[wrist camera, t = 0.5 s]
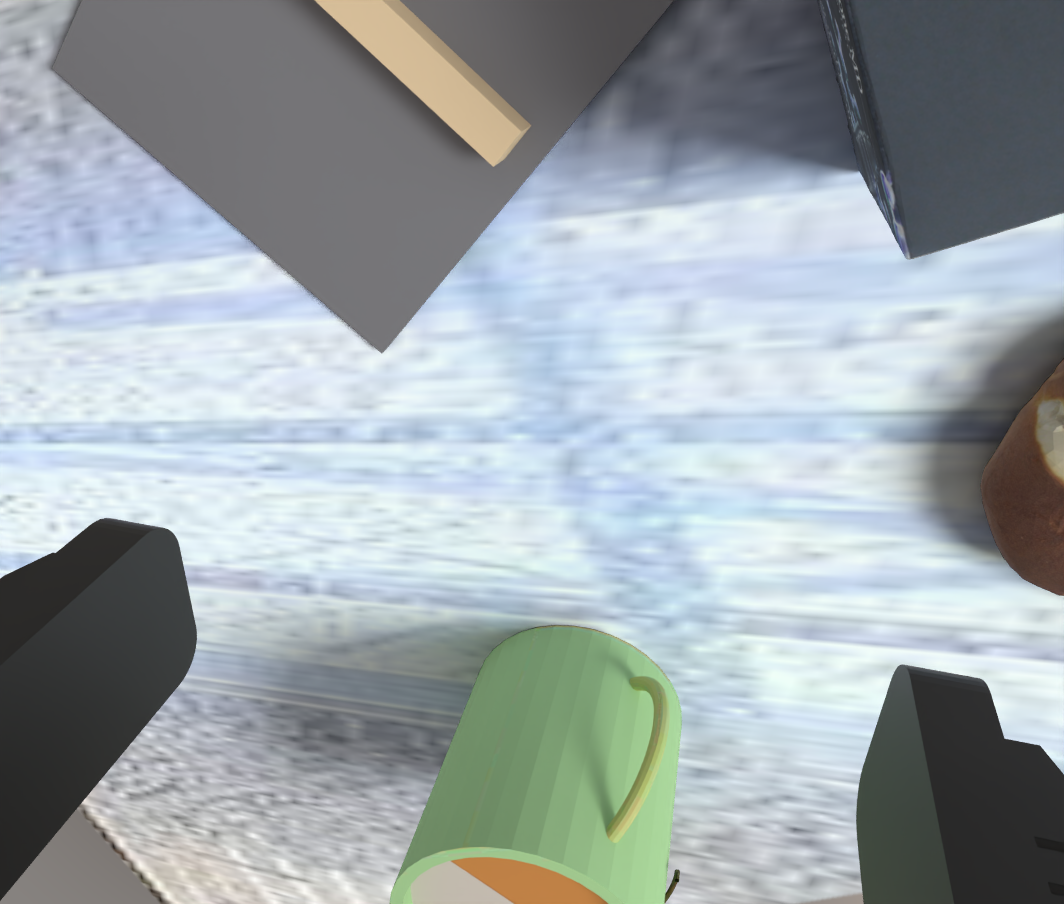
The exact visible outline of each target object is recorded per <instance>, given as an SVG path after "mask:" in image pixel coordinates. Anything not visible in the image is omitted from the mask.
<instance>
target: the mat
mask: <svg viewBox="0 0 1064 904" xmlns="http://www.w3.org/2000/svg"><path fill="white" fill-rule="evenodd" d="M673 1H674V0H82V1H81V3H80V6H79V8H78V10H77V12H76V15H75V17H74V19H73V21H72V24H71V26H70V28H69V31H68V33H67V35H66V37H65V40H64V42H63V44H62V47H61V49H60V51H59V53H58V56H57V58H56V60H55V62H54V65H53V67H52V69H53V70H54V71H55V72H56V73H58V74H59V75H60V76H61V77H62V78H63V79H65V80H66V81H67V82H68V83H69V84H70V85H72V86H73V87H74V88H75V89H76V90H77V91H78V92H80V93H81V94H82V95H83V96H84V97H85V98H87V99H88V100H89V101H90V102H91V103H92V104H94V105H95V106H96V107H97V108H98V109H99V110H100V111H102V112H103V113H104V114H105V115H106V116H107V117H109V118H110V119H111V120H112V121H113V122H114V123H116V124H117V125H118V126H119V127H120V128H121V129H122V130H124V131H125V132H126V133H127V134H128V135H129V136H131V137H132V138H133V139H134V140H135V141H136V142H138V143H139V144H140V145H141V146H142V147H143V148H144V149H146V150H147V151H148V152H149V153H150V154H151V155H153V156H154V157H155V158H156V159H157V160H158V161H160V162H161V163H162V164H163V165H164V166H165V167H166V168H168V169H169V170H170V171H171V172H172V173H173V174H175V175H176V176H177V177H178V178H179V179H180V180H182V181H183V182H184V183H185V184H186V185H187V186H188V187H190V188H191V189H192V190H193V191H194V192H195V193H197V194H198V195H199V196H200V197H201V198H202V199H204V200H205V201H206V202H207V203H208V204H209V205H210V206H212V207H213V208H214V209H215V210H216V211H217V212H219V213H220V214H221V215H222V216H223V217H224V218H226V219H227V220H228V221H229V222H230V223H231V224H232V225H234V226H235V227H236V228H237V229H238V230H239V231H241V232H242V233H243V234H244V235H245V236H246V237H248V238H249V239H250V240H251V241H252V242H253V243H254V244H256V245H257V246H258V247H259V248H260V249H261V250H263V251H264V252H265V253H266V254H267V255H268V256H270V257H271V258H272V259H273V260H274V261H275V262H276V263H278V264H279V265H280V266H281V267H282V268H283V269H285V270H286V271H287V272H288V273H289V274H290V275H292V276H293V277H294V278H295V279H296V280H297V281H298V282H300V283H301V284H302V285H303V286H304V287H305V288H307V289H308V290H309V291H310V292H311V293H312V294H314V295H315V296H316V297H317V298H318V299H319V300H320V301H322V302H323V303H324V304H325V305H326V306H327V307H329V308H330V309H331V310H332V311H333V312H334V313H336V314H337V315H338V316H339V317H340V318H341V319H342V320H344V321H345V322H346V323H347V324H348V325H349V326H351V327H352V328H353V329H354V330H355V331H356V332H358V333H359V334H360V335H361V336H362V337H363V338H364V339H366V340H367V341H368V342H369V343H370V344H371V345H373V346H374V347H375V348H376V349H377V350H378V351H380V352H381V353H383V352H384V351H385V350H386V349H387V348H388V346H389V345H390V344H391V343H392V342H393V340H394V339H395V338H396V337H397V335H398V334H399V333H400V332H401V331H402V329H403V328H404V327H405V326H406V325H407V323H408V322H409V321H410V320H411V319H412V317H413V316H414V315H415V314H416V312H417V311H418V310H419V309H420V308H421V306H422V305H423V304H424V303H425V302H426V300H427V299H428V298H429V297H430V296H431V294H432V293H433V292H434V291H435V289H436V288H437V287H438V286H439V285H440V283H441V282H442V281H443V280H444V279H445V277H446V276H447V275H448V274H449V272H450V271H451V270H452V269H453V268H454V266H455V265H456V264H457V263H458V262H459V260H460V259H461V258H462V257H463V256H464V254H465V253H466V252H467V251H468V249H469V248H470V247H471V246H472V245H473V243H474V242H475V241H476V240H477V239H478V237H479V236H480V235H481V234H482V233H483V231H484V230H485V229H486V228H487V226H488V225H489V224H490V223H491V222H492V220H493V219H494V218H495V217H496V216H497V214H498V213H499V212H500V211H501V210H502V208H503V207H504V206H505V205H506V203H507V202H508V201H509V200H510V199H511V197H512V196H513V195H514V194H515V193H516V191H517V190H518V189H519V188H520V187H521V185H522V184H523V183H524V182H525V180H526V179H527V178H528V177H529V176H530V174H531V173H532V172H533V171H534V170H535V168H536V167H537V166H538V165H539V164H540V162H541V161H542V160H543V159H544V157H545V156H546V155H547V154H548V153H549V151H550V150H551V149H552V148H553V147H554V145H555V144H556V143H557V142H558V141H559V139H560V138H561V137H562V136H563V134H564V133H565V132H566V131H567V130H568V128H569V127H570V126H571V125H572V124H573V122H574V121H575V120H576V119H577V118H578V116H579V115H580V114H581V113H582V111H583V110H584V109H585V108H586V107H587V105H588V104H589V103H590V102H591V101H592V99H593V98H594V97H595V96H596V95H597V93H598V92H599V91H600V90H601V88H602V87H603V86H604V85H605V84H606V82H607V81H608V80H609V79H610V78H611V76H612V75H613V74H614V73H615V72H616V70H617V69H618V68H619V67H620V65H621V64H622V63H623V62H624V61H625V59H626V58H627V57H628V56H629V55H630V53H631V52H632V51H633V50H634V49H635V47H636V46H637V45H638V44H639V42H640V41H641V40H642V39H643V38H644V36H645V35H646V34H647V33H648V32H649V30H650V29H651V28H652V27H653V26H654V24H655V23H656V22H657V21H658V19H659V18H660V17H661V16H662V15H663V13H664V12H665V11H666V10H667V9H668V7H669V6H670V5H671V4H672V2H673Z"/></svg>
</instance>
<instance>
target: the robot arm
mask: <svg viewBox="0 0 1064 904" xmlns="http://www.w3.org/2000/svg"><path fill="white" fill-rule="evenodd" d="M196 641H197V631H196V625H195V620H194V615H193V610H192V605H191V600H190V596H189V591H188V586H187V581H186V576H185V571H184V566H183V562H182V557H181V552H180V547H179V543H178V541H177V538H176V536H175V535H174V534H173V533H172V532H171V531H170V530H168V529H165V528H161V527H155V526H150V525H144V524H139V523H133V522H128V521H122V520H117V519H111V518H104V519H100V520H98V521H96V522H94V523H93V524H91V525H90V526H88V527H87V528H86V529H85V530H84V531H82V532H81V533H80V534H79V535H77V536H76V537H75V538H74V539H72V540H71V541H70V542H69V543H68V544H66V545H65V546H64V547H63V548H61V549H60V550H59V551H58V552H57V553H51V554H49V555H47V556H44V557H42V558H40V559H38V560H36V561H34V562H32V563H30V564H28V565H26V566H24V567H22V568H19V569H17V570H15V571H13V572H11V573H9V574H7V575H5V576H3V577H2V578H1V579H0V900H1V899H2V898H3V897H4V896H5V894H6V893H7V892H8V891H9V890H10V888H11V887H12V886H13V885H14V883H15V882H16V881H17V880H18V879H19V878H20V876H21V875H22V874H23V873H24V872H25V870H26V869H27V868H28V867H29V866H30V864H31V863H32V862H33V861H34V859H35V858H36V857H37V856H38V855H39V853H40V852H41V851H42V850H43V849H44V847H45V846H46V845H47V844H48V842H49V841H50V840H51V839H52V838H53V837H54V835H55V834H56V833H57V832H58V830H59V829H60V828H61V827H62V826H63V825H64V823H65V822H66V821H67V820H68V818H69V817H70V816H71V815H72V814H73V812H74V811H75V810H76V809H77V808H78V806H79V805H80V804H81V803H82V802H83V800H84V799H85V798H86V797H87V796H88V794H89V793H90V792H91V791H92V790H93V788H94V787H95V786H96V785H97V784H98V782H99V781H100V780H101V779H102V777H103V776H104V775H105V774H106V773H107V771H108V770H109V769H110V768H111V767H112V765H113V764H114V763H115V762H116V761H117V759H118V758H119V757H120V756H121V755H122V753H123V752H124V751H125V750H126V749H127V747H128V746H129V745H130V744H131V743H132V741H133V740H134V739H135V738H136V736H137V735H138V734H139V733H140V732H141V730H142V729H143V728H144V727H145V726H146V724H147V723H148V722H149V721H150V720H151V718H152V717H153V716H154V715H155V714H156V712H157V711H158V710H159V709H160V708H161V706H162V705H163V704H164V703H165V702H166V700H167V699H168V698H169V697H170V695H171V694H172V693H173V692H174V691H175V689H176V688H177V687H178V686H179V685H180V683H181V682H182V681H183V679H184V677H185V676H186V674H187V672H188V670H189V668H190V666H191V663H192V660H193V657H194V653H195V649H196ZM856 825H857V840H858V851H859V861H860V871H861V881H862V891H863V900H864V904H1064V774H1063V773H1062V772H1061V771H1060V769H1059V768H1058V767H1057V766H1056V765H1055V763H1054V762H1053V761H1052V760H1051V758H1050V757H1049V756H1048V755H1047V754H1046V752H1045V751H1044V750H1043V749H1042V748H1041V746H1039V745H1034V744H1029V743H1024V742H1019V741H1013V740H1008V739H1004V736H1003V733H1002V729H1001V726H1000V723H999V719H998V716H997V713H996V709H995V706H994V703H993V699H992V696H991V693H990V690H989V688H988V686H987V684H986V683H985V682H984V681H983V680H982V679H980V678H974V677H969V676H963V675H958V674H952V673H947V672H941V671H936V670H930V669H925V668H919V667H914V666H908V665H900V666H898V667H897V669H896V670H895V672H894V674H893V677H892V679H891V682H890V685H889V688H888V691H887V694H886V698H885V701H884V704H883V707H882V710H881V713H880V716H879V719H878V722H877V725H876V728H875V732H874V735H873V738H872V741H871V744H870V747H869V750H868V753H867V756H866V759H865V763H864V766H863V769H862V773H861V778H860V783H859V790H858V798H857V815H856Z"/></svg>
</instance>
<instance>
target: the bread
mask: <svg viewBox="0 0 1064 904" xmlns="http://www.w3.org/2000/svg"><path fill="white" fill-rule="evenodd" d="M980 487H981V493H982V500H983V501H982V503H983V507H984V510H985V513H986V517H987V520H988V523H989V526H990V529H991V532H992V535H993V537H994V540H995V543H996V545H997V547H998V548H999V550H1000V552H1001V554H1002V556H1003V558H1004V559H1005V560H1006V562H1007V563H1008V564H1009V566H1010V567H1011V568H1012V569H1013V570H1014V571H1016V572H1017V573H1018V574H1019V575H1020V576H1021V577H1022V578H1023V579H1024V580H1026V581H1028V582H1030V583H1032V584H1034V585H1036V586H1038V587H1041V588H1043V589H1045V590H1048V591H1050V592H1052V593H1055V594H1057V595H1061V596H1064V359H1063V360H1062V361H1061V362H1060V364H1059V365H1058V366H1057V367H1056V369H1055V371H1054V373H1053V374H1052V375H1051V376H1050V377H1049V378H1048V379H1047V380H1046V381H1045V382H1044V383H1043V385H1042V386H1041V387H1040V389H1039V391H1038V392H1037V393H1036V394H1035V395H1034V396H1033V398H1032V399H1031V400H1030V401H1029V402H1028V403H1027V404H1026V405H1025V406H1024V407H1023V408H1022V409H1021V410H1020V412H1019V414H1018V415H1017V417H1016V418H1015V420H1014V421H1013V423H1012V425H1011V426H1010V428H1009V430H1008V431H1007V433H1006V435H1005V437H1004V438H1003V440H1002V442H1001V443H1000V445H999V446H998V448H997V450H996V451H995V453H994V454H993V456H992V457H991V459H990V460H989V462H988V463H987V465H986V466H985V468H984V471H983V475H982V480H981V485H980Z"/></svg>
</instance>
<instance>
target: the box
mask: <svg viewBox="0 0 1064 904" xmlns="http://www.w3.org/2000/svg"><path fill="white" fill-rule="evenodd" d="M817 1H818V4H819V8H820V13H821V17H822V20H823V25H824V30H825V33H826V36H827V40H828V44H829V48H830V52H831V56H832V61H833V65H834V69H835V72H836V76H837V82H838V84H839V87H840V91H841V96H842V99H843V103H844V107H845V111H846V115H847V120H848V128H849V130H850V134H851V137H852V141H853V146H854V152H855V155H856V160H857V164H858V168H859V171H860V173H861V175H862V177H863V178H864V180H865V182H866V184H867V186H868V189H869V191H870V193H871V194H872V196H873V197H874V199H875V201H876V202H877V205H878V206H879V208H880V210H881V212H882V214H883V215H884V217H885V220H886V221H887V223H888V225H889V226H890V228H891V231H892V233H893V235H894V237H895V239H896V241H897V243H898V244H899V247H900V248H901V250H902V252H903V254H904V256H905V258H906V259H909V260H910V259H914V258H918V257H921V256H924V255H928V254H931V253H934V252H937V251H941V250H944V249H948V248H951V247H955V246H958V245H961V244H964V243H968V242H971V241H974V240H977V239H980V238H983V237H987V236H991V235H994V234H997V233H1000V232H1004V231H1007V230H1010V229H1014V228H1017V227H1020V226H1023V225H1027V224H1030V223H1033V222H1036V221H1040V220H1043V219H1046V218H1049V217H1052V216H1055V215H1059V214H1062V213H1064V0H817Z"/></svg>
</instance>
